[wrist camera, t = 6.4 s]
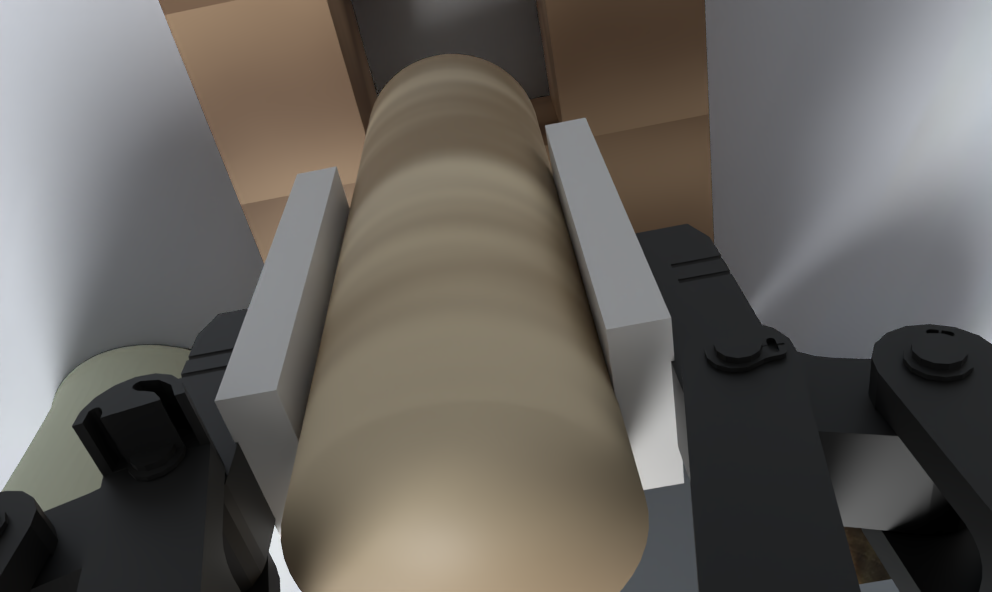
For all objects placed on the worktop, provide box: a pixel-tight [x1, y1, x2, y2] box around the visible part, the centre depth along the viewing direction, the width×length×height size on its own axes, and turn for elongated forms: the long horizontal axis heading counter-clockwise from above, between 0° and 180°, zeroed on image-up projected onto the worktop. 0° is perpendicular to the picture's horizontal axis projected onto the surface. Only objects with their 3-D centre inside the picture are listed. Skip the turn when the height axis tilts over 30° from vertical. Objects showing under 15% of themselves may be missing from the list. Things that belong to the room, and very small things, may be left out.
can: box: [2, 345, 191, 512], centre depth 29 cm, size 9×9×12 cm
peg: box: [281, 54, 649, 592], centre depth 14 cm, size 4×4×12 cm
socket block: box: [159, 0, 714, 264], centre depth 26 cm, size 17×14×4 cm
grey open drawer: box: [620, 460, 899, 592], centre depth 24 cm, size 8×15×18 cm, turn 100°
